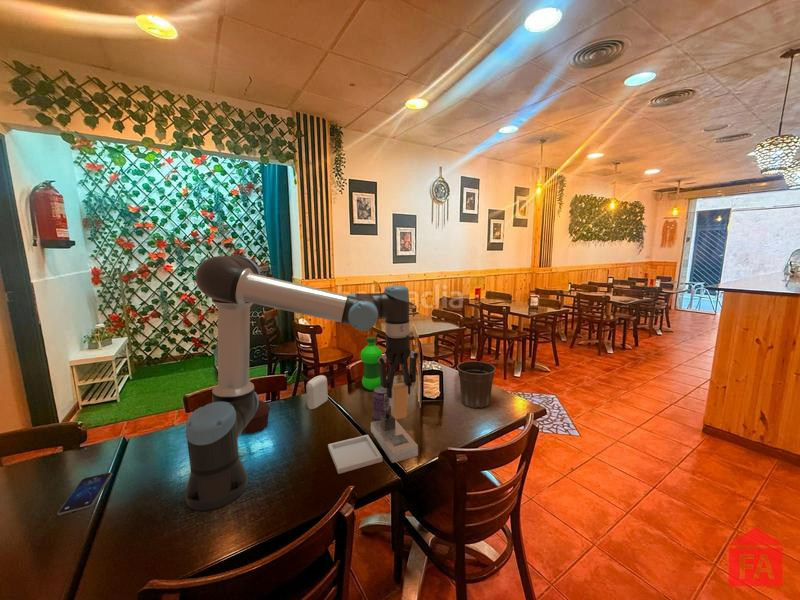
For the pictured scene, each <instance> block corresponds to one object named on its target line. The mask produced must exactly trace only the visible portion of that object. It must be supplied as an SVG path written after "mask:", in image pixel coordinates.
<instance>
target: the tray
mask: <svg viewBox="0 0 800 600" xmlns="http://www.w3.org/2000/svg"><path fill="white" fill-rule="evenodd" d="M327 449H328V452H329V454H330V457H331V459H332V462H333V464H334V466H335V470H336V472H337V474H338V475H340V474H344V473H347V472H350V471H354V470H357V469H361V468H364V467H368V466H372V465H375V464H378V463H382V462H383V456H382V454H381V453H380V451H379V449H378V448H377V446H376V445H375V443H374V442H373V440H372V438H370V435H369V434H364V435H361V436H357V437H353V438H348V439H344V440H340V441H336V442H333V443H332V442H331V443H328V444H327Z"/></svg>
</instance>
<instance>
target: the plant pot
mask: <svg viewBox="0 0 800 600" xmlns="http://www.w3.org/2000/svg"><path fill="white" fill-rule="evenodd" d="M456 368H457V371H458V377H459V384H460V385H459V386H460V398H461V402H462V404H463V405H465V406H466V407H469V408H472V409H473V408H474V409H477V408H479V409H484V408H487V407H488V406H490V405H491V397H492V390H493V380H494V378H495V373H496V369H497V368H496V365H495V366H494V365H493V364H492V363H489V362H485V361H479V360H478V361H477V360H469V361H468V360H467V361H463V362H459V363H458V364H457V365H456ZM486 406H487V407H486ZM483 407H484V408H483Z"/></svg>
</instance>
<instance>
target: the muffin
mask: <svg viewBox="0 0 800 600" xmlns="http://www.w3.org/2000/svg"><path fill="white" fill-rule="evenodd" d="M258 400H259V404H258V408H257V411H256V414H255V415H254V417H253V418H252V420H250V422H249V423H248V424H247V426H246V427H245V429H244V430H243V431H242V432H244V433H245V434H256V433H259V432H262V431H264V430H265V429H266V428H268V423H269V414H270V413H269V412H270V411H271V406H270V404H268V403H267V402H266V401H264V400H261V399H258Z"/></svg>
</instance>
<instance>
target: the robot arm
mask: <svg viewBox="0 0 800 600" xmlns="http://www.w3.org/2000/svg"><path fill="white" fill-rule="evenodd" d="M195 282H196V285H197V288H198V289H199V290H200V292H201V293H202V294H204V295H205V296H206V297H208V298H210V299H211V302H212V304H214V305H215V306H216V308H217V384H216V385H215V386H214V387H213V388H212V391H211V392H212V393H211V395H212V398H211V399H212V400H211V401H212V402H209V403H207V404H204V406H200V407H198V408H196V409H195V410H193V411H192V413H191V414H190V415H189V416H188V418H187V419H186V424H185V428H186V429H185V438H186V441H187V449H188V450H187V451H188V458H189V467H190V473H189V477H188V481H187V485H186V489H185V493H184V494H185V495H184V497H185V503H186V505H187V507H188V508H189V509H192V510H194V511H200V512H202V511H203V512H204V511H210V510H216V509H218V508H222V507H224V506H226V505H229V504H230V503H232V502H233V501H235V500H236V499H238V498H239V497H240V496H241V495H242V494H243V493H244V492H245V490H246V489H247V487H248V483H249V479H248V478H249V477H248V472H247V470H246V468H245V466H244V465H243V462H242V461H241V459H240V455H239V454H240V453H239V443H238V440H239V437H240V436H241V434H242V433H243V432H244V431H243V430H244V429H245V427H246V426H247V424H248V423H249V422H250V420H252V418H253V417H254V415H255V414H256V411H257V408H258V404H259V400H260V399H259V396H258V394H257V391H256V392H255V385H254V383H253V382H251V381H250V346H251V345H250V342H251V341H250V339H251V338H250V332H251V331H250V330H251V329H250V327H251V325H250V324H251V323H250V322H251V318H250V317H251V307H252V305H253V304H255V305H259V306H264V307H268V308H273V309H278V310H282V311H288V312H290V313H291V312H292V313H296V314H301V315H305V316H310V317H314V318H318V319H324V320H327V321H333V322H338V323H341V324H345V325H350V326H352V328H354V329H355V330H358V331H368V330H370V329H372V328H373V327H374V326H375V325H376V323H377V322H378V318H384V319H385V335H386V336H385V348H386V349H385V352H384V354H382V356H381V357H380V356H378V357H377V360H378V362H379V366H380V382H381V385H380V387H383V388H387V397H388V398H389V405H390V406H391V407H392V408H393V409H394V408H395V391H394V388H393V387H392V386H393V385H394V379H395V375H396V374H395V373H396V369H397V367H398V366H397V365H400V366H401V367H400V368H401V372H402V375H403V376H402V377H403V380H404V383H403V382H402V384H403V385H404V386H406V387H407V406H409V395H410V394H411V387H412V385H413V383H416V381H417V360H418V357H419V353H418V352H416V351H415V350H413V351H412V350H411V349H410V346H411V345H410V343H411V341H410V339H411V338H410V332H411V331H410V293H409V290H410V289H409V288H408V287H407V286H405V285H388V286H385V288H384V291H383V292H379V293H377V292H376V293H375V292H372V293H371V292H370V293H365V292H364V293H359V292H356V293H348V294H343V293H339V292H335V291H330V290H326V289H321V288H318V287H314V286H309V285H303V284H299V283H297V282H296V283H295V282H293V281H288V280H283V279H278V278H275V277H269V276H267V275H266V276H265V275H261V270H260V269H259V267H258V265H257V264H256V262H254V261H253V260H252V259H250V258H249V257H246V256H243V255H238V254H235V255H233V254H231V255H219V256H218V255H217V256H212V257H209V258H207V259H205V260H204V261H203V262H201V263H200V264H199V265H198V268H197V270H196V272H195ZM408 358H409V367H408V361H407V360H408ZM387 360H388V370H387V366H386V365H387V364H386V363H387Z"/></svg>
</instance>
